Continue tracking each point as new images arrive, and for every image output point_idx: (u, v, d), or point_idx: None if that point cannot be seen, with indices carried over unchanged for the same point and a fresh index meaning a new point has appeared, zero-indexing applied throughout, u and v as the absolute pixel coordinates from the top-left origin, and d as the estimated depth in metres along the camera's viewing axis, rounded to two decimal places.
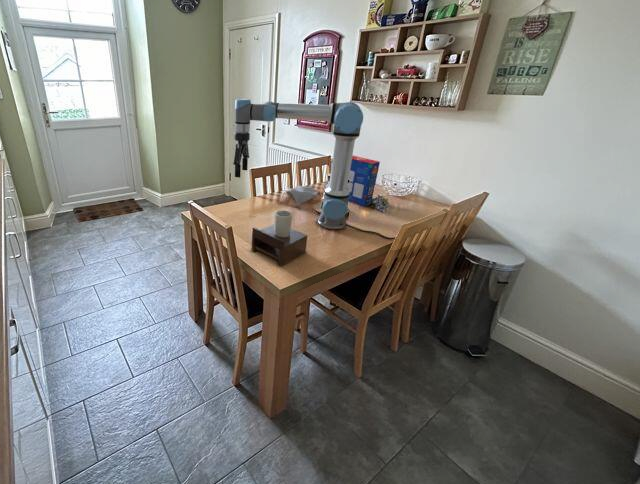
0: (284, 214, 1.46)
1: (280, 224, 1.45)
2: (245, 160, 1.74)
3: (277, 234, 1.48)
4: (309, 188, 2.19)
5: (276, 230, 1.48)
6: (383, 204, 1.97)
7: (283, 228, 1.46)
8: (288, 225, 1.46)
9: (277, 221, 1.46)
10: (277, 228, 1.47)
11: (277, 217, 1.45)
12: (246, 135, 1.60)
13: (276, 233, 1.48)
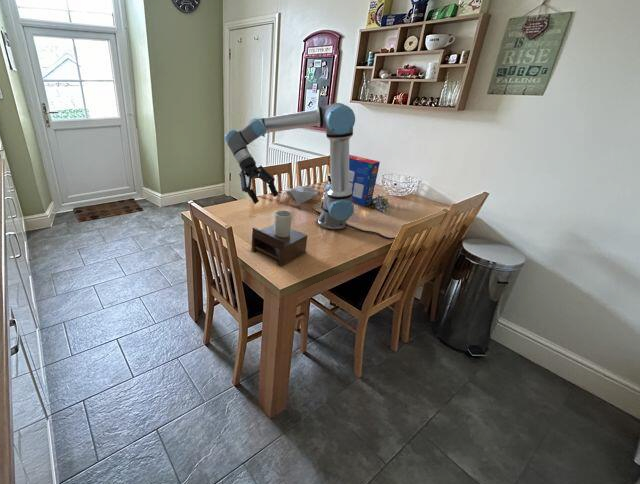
0: (284, 214, 1.46)
1: (280, 224, 1.45)
2: (270, 185, 1.57)
3: (277, 234, 1.48)
4: (309, 188, 2.19)
5: (276, 230, 1.48)
6: (383, 204, 1.97)
7: (283, 228, 1.46)
8: (288, 225, 1.46)
9: (277, 221, 1.46)
10: (277, 228, 1.47)
11: (277, 217, 1.45)
12: (246, 159, 1.51)
13: (276, 233, 1.48)
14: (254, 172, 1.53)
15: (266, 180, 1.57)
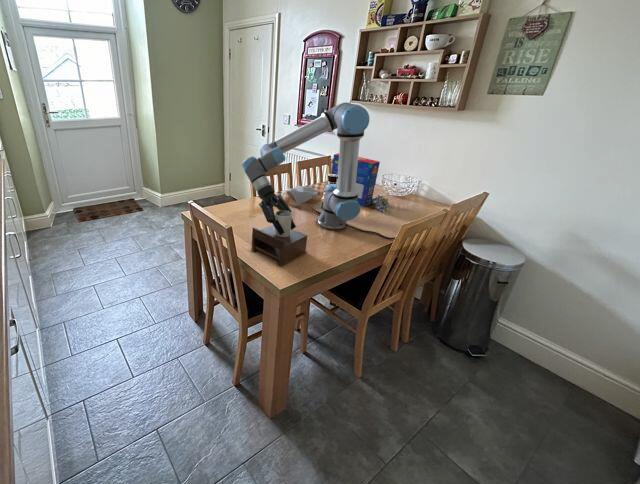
0: (284, 214, 1.46)
1: (280, 224, 1.45)
2: None
3: (277, 234, 1.48)
4: (309, 188, 2.19)
5: (276, 230, 1.48)
6: (383, 204, 1.97)
7: (283, 228, 1.46)
8: (288, 225, 1.46)
9: None
10: None
11: (277, 217, 1.45)
12: (264, 188, 1.48)
13: (275, 233, 1.48)
14: (273, 200, 1.50)
15: None
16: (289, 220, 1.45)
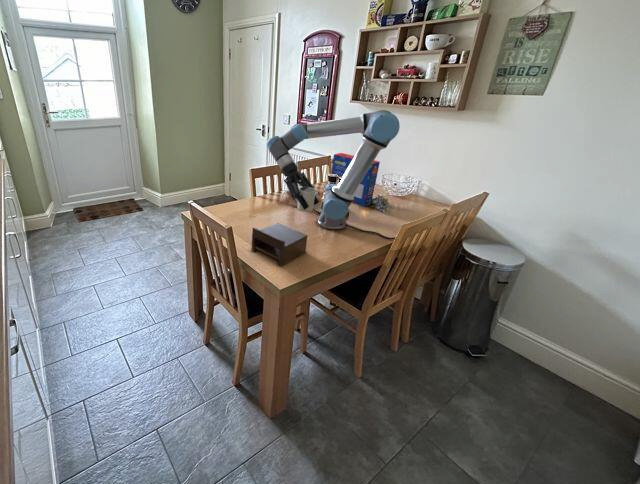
0: (308, 190, 1.53)
1: None
2: None
3: (301, 209, 1.55)
4: None
5: (300, 205, 1.55)
6: (383, 204, 1.97)
7: (307, 202, 1.53)
8: (312, 200, 1.53)
9: None
10: None
11: (301, 192, 1.52)
12: (289, 165, 1.55)
13: (299, 208, 1.56)
14: (297, 177, 1.57)
15: None
16: (313, 195, 1.53)
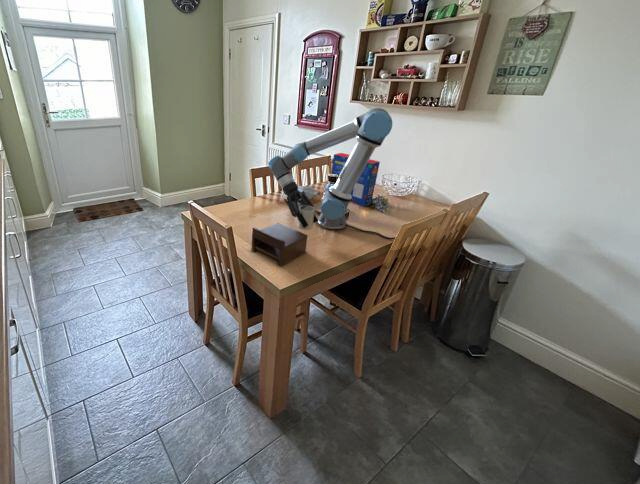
0: (307, 209, 1.59)
1: (304, 218, 1.58)
2: None
3: (301, 227, 1.61)
4: (309, 188, 2.19)
5: (300, 223, 1.61)
6: (383, 204, 1.97)
7: (307, 221, 1.58)
8: (311, 219, 1.59)
9: None
10: None
11: (301, 211, 1.58)
12: (289, 184, 1.60)
13: (299, 226, 1.61)
14: (297, 196, 1.62)
15: None
16: (312, 214, 1.58)
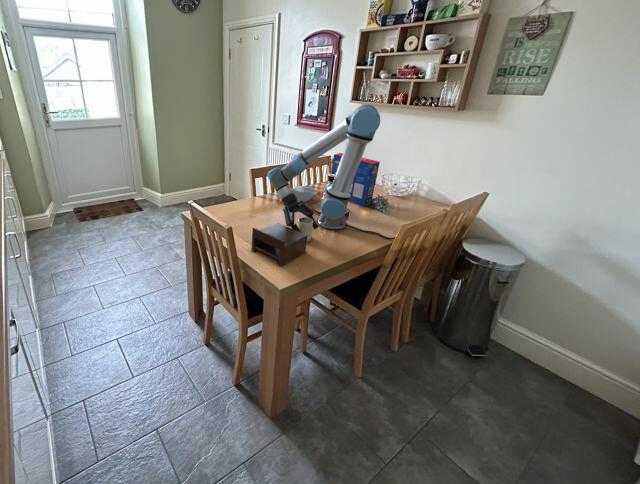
0: (306, 221, 1.61)
1: (302, 230, 1.61)
2: None
3: None
4: (309, 188, 2.19)
5: None
6: (383, 204, 1.97)
7: (305, 233, 1.61)
8: (310, 231, 1.61)
9: (300, 227, 1.61)
10: None
11: (300, 223, 1.61)
12: (288, 196, 1.63)
13: None
14: (296, 207, 1.65)
15: (306, 214, 1.68)
16: (311, 226, 1.61)
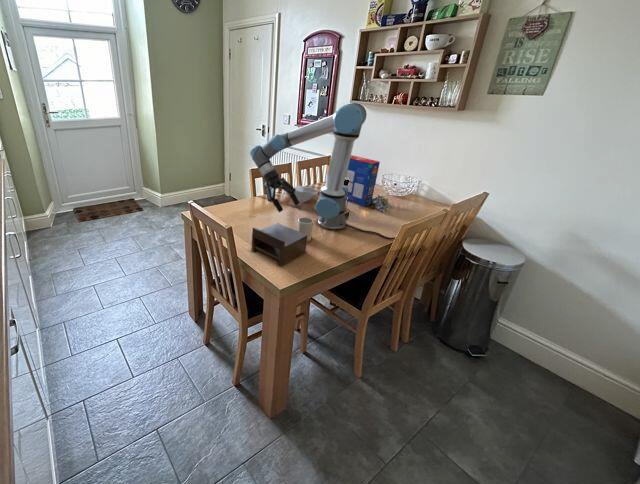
0: (306, 221, 1.61)
1: (302, 230, 1.61)
2: (292, 195, 1.73)
3: None
4: (309, 188, 2.19)
5: None
6: (383, 204, 1.97)
7: (305, 233, 1.61)
8: (310, 231, 1.61)
9: (300, 227, 1.61)
10: None
11: (300, 223, 1.61)
12: (270, 172, 1.68)
13: None
14: (277, 183, 1.69)
15: (288, 190, 1.73)
16: (311, 226, 1.61)
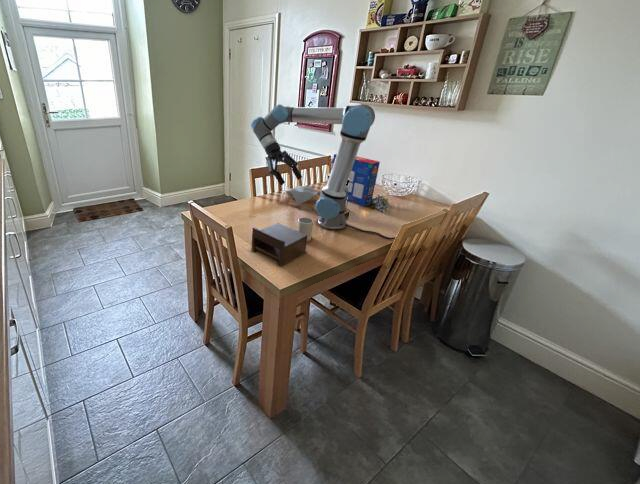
0: (306, 221, 1.61)
1: (302, 230, 1.61)
2: (294, 169, 1.67)
3: None
4: (309, 188, 2.19)
5: None
6: (383, 204, 1.97)
7: (305, 233, 1.61)
8: (310, 231, 1.61)
9: (300, 227, 1.61)
10: None
11: (300, 223, 1.61)
12: (271, 144, 1.62)
13: None
14: (279, 156, 1.63)
15: (290, 164, 1.67)
16: (311, 226, 1.61)
